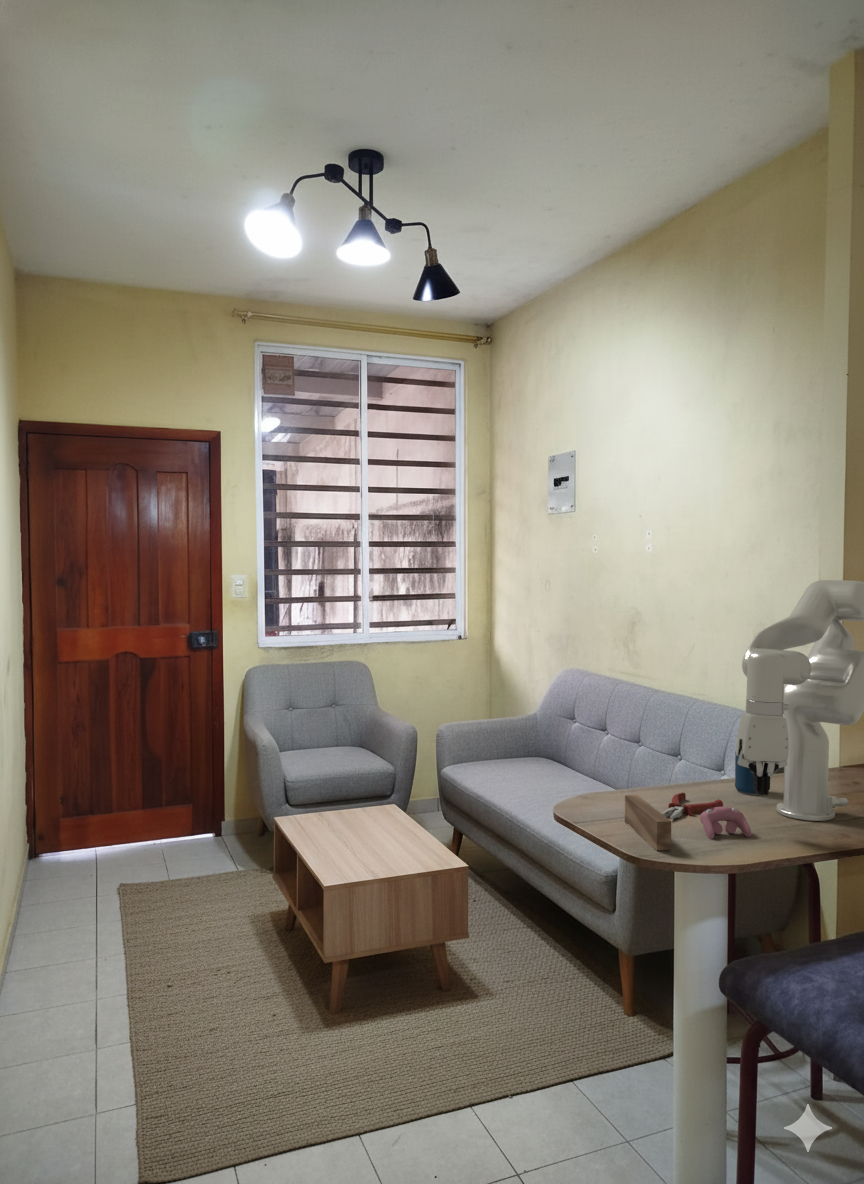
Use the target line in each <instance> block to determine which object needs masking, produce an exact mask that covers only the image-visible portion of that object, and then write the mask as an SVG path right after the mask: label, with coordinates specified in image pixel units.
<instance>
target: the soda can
mask: <svg viewBox="0 0 864 1184" xmlns="http://www.w3.org/2000/svg"><path fill="white" fill-rule="evenodd" d="M734 754H735V757H734V758H735V759H734V761H735V762H734V763H735V764H734V787H735V789H736V791H737V792H738V793H739V794H744V795H748V796H749V795H750V796H751V795H752V796H755V795H759V794H758V793H756V792H755V790H754V788H753V781H754V774H753V773H752V772H751V770H750V769H749V768H747V767H743V766H741V765H738V759H739V757H738V756H737V755H736V750H735V753H734ZM748 762H750V761H748ZM761 763H762V767H763V762H761Z"/></svg>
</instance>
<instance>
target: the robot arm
mask: <svg viewBox="0 0 864 1184" xmlns="http://www.w3.org/2000/svg"><path fill="white" fill-rule="evenodd" d="M842 621H845V622H847V621H849V622H864V581H860V580H848V579H847V580H845V579H844V580H842V579H841V580H838V579H832V580H831V579H824V580H823V579H822V580H816V581H813V582H812V583H810V584H809V585H808V586H807V587H806V588H805V590H804V591H803V593H802V595H801V597H800V598H799V600H798V602H797V603H796V605H795V607H794V608H793V610H792V611H791V613H790V615H789V616H788V617H785V618H783V619H781V620H779V621H776V622H775V623H773V624H771V625H769V626H767V627H766V628H763V629H762V630H760V631H759V632H758V633H757V634H756V635H755V636H754V637H753V639H752V640H751V642H750V644H749V645H748V647H747V648H746V650H745V652H744V654H743V658H742V661H741V669H742V672H743V674H744V676H745V677H746V699H745V713H741V716H740V720H739V723H738V729H737V735H736V745H735V751H736V755H737V756H738V757H739V759H738V765H741V766H743V767H747V768H749V769H750V770H751V772H752V773H753V774H754V781H753V788H754V790H755V792H756V793H758V794H757V795H760V796H764V795H765V796H769V791H770V790H771V777H773V776H774V773H775V772H776V771H777V770H778V769H781V768H783V802H779V803H777V804H776V810H775V811H776V812H777V813H778V814H779V815H782V816H785V817H787V818H790V819H791V818H792V819H797V820H802V821H812V822H814V821H817V822H821V821H822V822H823V821H829V820H833V819H834V818H835V817H836V816H835V815H836V813H835V810H834V809H835V808H836V807H848V805H849V800H848V799H847V798H846V797H836V796H832V795H829V758H830V741H829V736H828V734H827V732H826V730H825V729H824V727H823V726H822V724H821V723H825V724H834V725H843V726H851V725H854V724H856V723H857V722H859V720H860V718H861V717H862V715H863V712H864V650H857V649H855V650H854V648H855V639H854V637H853V636H852V633H850V631H849V629H848V628H847V627H846V626H844V624H843V623H842ZM810 644H813V645H812V646H811V649H810V650H809V653H808V655H807V656H806V655H805V654H804V653H802V652H799V651H796V650H789V649H792V648H798V647H802V646H803V647H804V646H806V645H810ZM748 761H750V762H748ZM761 762H763V767H762V763H761Z"/></svg>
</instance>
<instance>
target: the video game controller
mask: <svg viewBox="0 0 864 1184" xmlns="http://www.w3.org/2000/svg"><path fill="white" fill-rule="evenodd" d="M699 817H700V823H701V824H702V827H703V829H704V832H705V834H706V836H707V837H708V838H709V839H710V840H713V839H714V838H715V835H721V834H722V833H723V830H725V832H726V833H727V834H729V835H733V834H735V833H736V831H737V828H738V829H740V831H741V832H742V834H743V835H744V836H745V837H746V838H750V837H751V836H752V830H751V827H750V825H749V823H748V821H747V819H746V817H745V816H744V813H742V812H741V811H740V810H739V808H734V807H729V806H723V807H714V808H711V809H708V810H706V811H704V812H703V813H700V816H699ZM720 822H725V824H724V829H723V825H722V824H721V823H720Z"/></svg>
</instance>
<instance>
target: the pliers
mask: <svg viewBox="0 0 864 1184" xmlns="http://www.w3.org/2000/svg"><path fill="white" fill-rule="evenodd" d="M686 797H687V795H686V793H685V792H679V793H676V794H674V795H673V797H672V798H671V802H669V803H668V808H667V809H666V810H664V811H663V812H662V813H661V814H663V815H664V816H665V817H666V818H669V820H674V819H678V818H681V817H682V816H683V814H684V816H688V815H689V816H688V817H692V815H696V814H702V813H703V812H704V811H706V810H708V809H711V808H714V807H724V802H723V800H722V799H716V800H714V801H712V802H711V801H710V802H705V803H704V802H702V803H694V804H687V803H686V804H685V803H683V804H682V805H681V806H680V803H681V802H684V801H686ZM683 800H684V801H683ZM680 801H681V802H680ZM686 814H687V815H686ZM668 816H670V817H668ZM680 816H681V817H680Z"/></svg>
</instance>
